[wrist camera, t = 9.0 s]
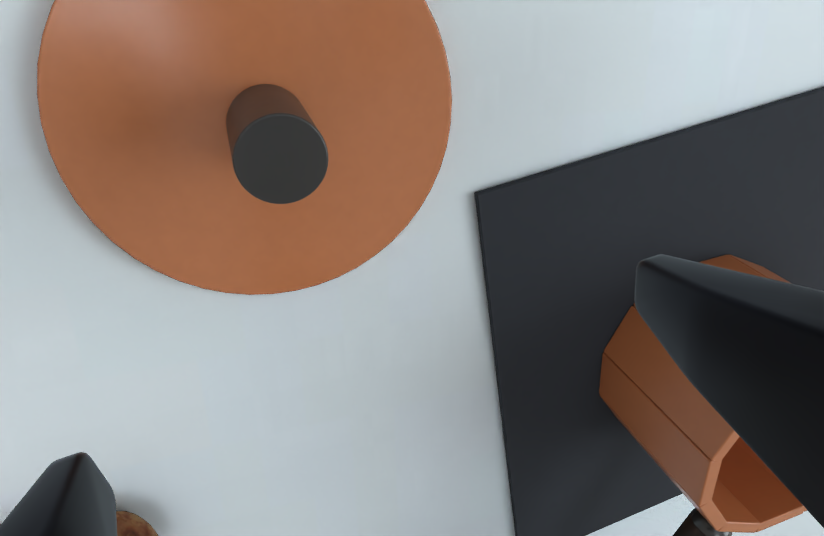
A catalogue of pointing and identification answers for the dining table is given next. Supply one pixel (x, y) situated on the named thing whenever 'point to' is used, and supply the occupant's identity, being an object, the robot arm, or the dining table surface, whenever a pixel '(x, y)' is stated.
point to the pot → (691, 431)
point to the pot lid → (246, 130)
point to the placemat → (628, 287)
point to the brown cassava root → (132, 525)
